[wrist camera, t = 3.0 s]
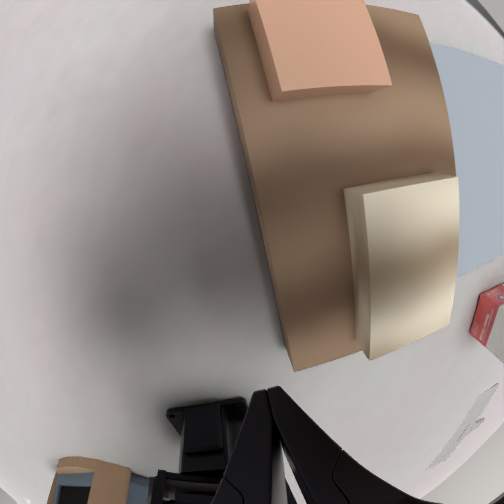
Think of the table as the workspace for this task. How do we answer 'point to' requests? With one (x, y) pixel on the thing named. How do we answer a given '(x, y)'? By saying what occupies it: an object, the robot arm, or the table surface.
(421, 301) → the birch tile
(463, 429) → the grey flat piece
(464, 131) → the mat
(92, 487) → the alarm clock
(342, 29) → the terracotta tile
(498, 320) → the ink cartridge box
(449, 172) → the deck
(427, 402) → the table surface
